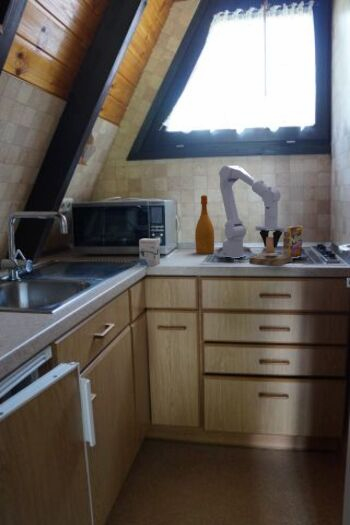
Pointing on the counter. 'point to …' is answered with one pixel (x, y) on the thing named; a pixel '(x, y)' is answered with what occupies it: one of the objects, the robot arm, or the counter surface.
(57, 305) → the counter surface
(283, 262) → the socket block
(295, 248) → the candy box
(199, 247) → the wine bottle
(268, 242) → the peg
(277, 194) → the robot arm
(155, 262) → the ink box
